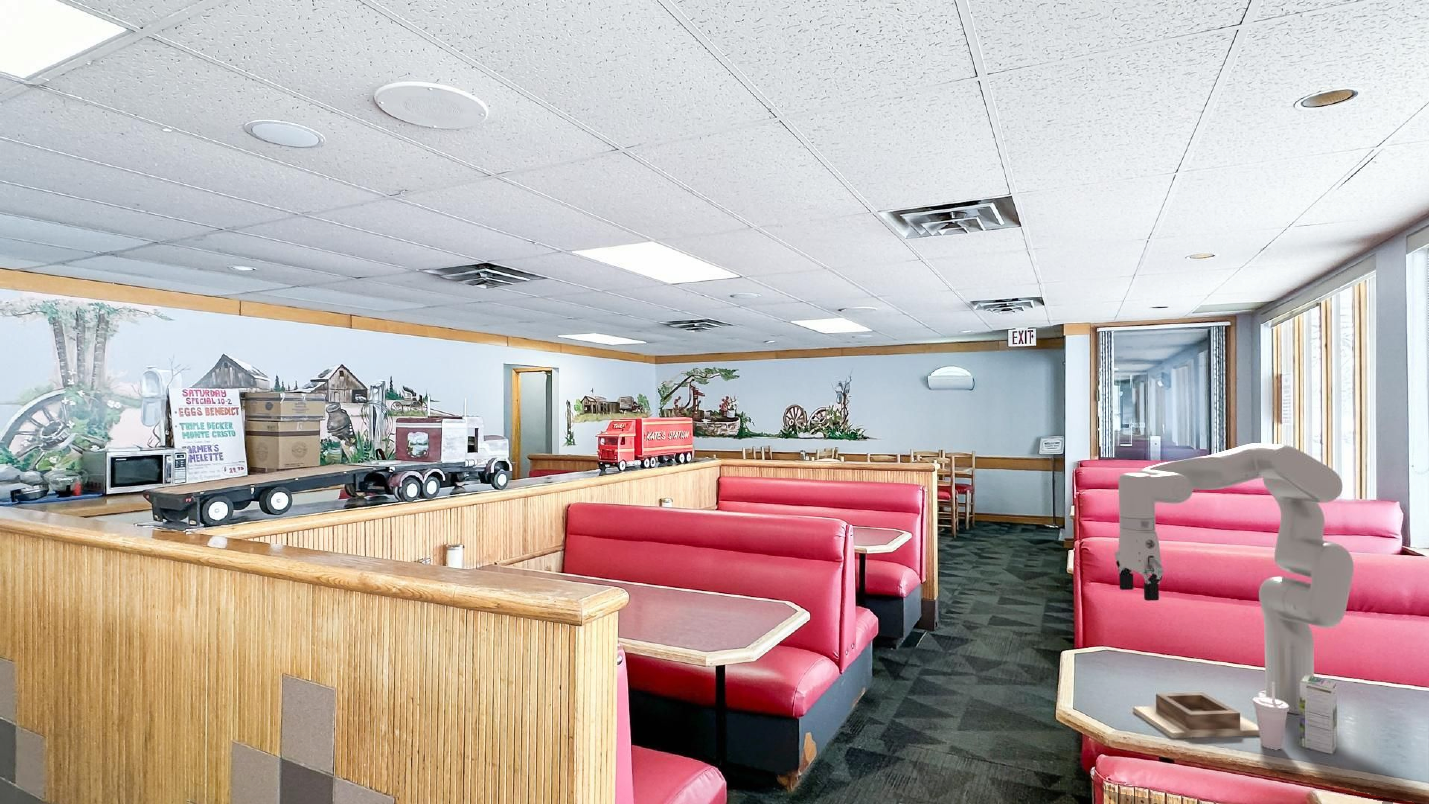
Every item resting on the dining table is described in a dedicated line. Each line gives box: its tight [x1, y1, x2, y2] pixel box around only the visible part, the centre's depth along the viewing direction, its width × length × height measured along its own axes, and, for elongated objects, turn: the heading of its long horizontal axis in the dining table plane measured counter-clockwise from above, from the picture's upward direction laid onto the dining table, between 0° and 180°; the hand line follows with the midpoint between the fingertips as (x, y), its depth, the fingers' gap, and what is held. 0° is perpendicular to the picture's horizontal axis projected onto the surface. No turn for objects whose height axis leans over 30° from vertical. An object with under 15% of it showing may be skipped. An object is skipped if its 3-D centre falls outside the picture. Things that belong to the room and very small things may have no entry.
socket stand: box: [1132, 691, 1260, 739], centre depth 168 cm, size 22×14×5 cm, turn 93°
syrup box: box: [1299, 675, 1338, 755], centre depth 156 cm, size 6×6×14 cm
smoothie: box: [1252, 682, 1289, 750], centre depth 157 cm, size 6×6×14 cm
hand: (1138, 594), depth 173 cm, fingers open, 9 cm apart
